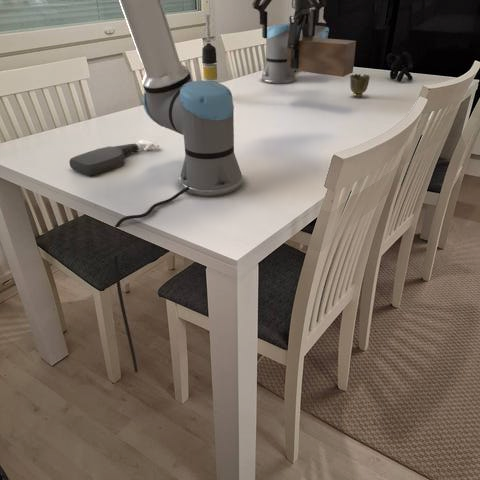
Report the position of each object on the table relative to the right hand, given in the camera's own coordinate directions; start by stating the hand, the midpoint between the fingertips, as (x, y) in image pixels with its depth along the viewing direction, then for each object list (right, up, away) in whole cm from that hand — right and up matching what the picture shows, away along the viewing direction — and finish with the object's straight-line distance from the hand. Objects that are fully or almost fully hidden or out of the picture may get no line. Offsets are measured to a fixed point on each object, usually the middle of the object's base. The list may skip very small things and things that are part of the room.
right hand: (299, 65), depth 163 cm
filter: (-33, -7, +16) cm, 38 cm away
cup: (+25, -7, +14) cm, 30 cm away
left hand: (-8, -7, -39) cm, 40 cm away
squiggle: (+50, +8, +37) cm, 63 cm away
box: (+6, -3, -4) cm, 8 cm away
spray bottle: (-56, -41, -38) cm, 80 cm away
